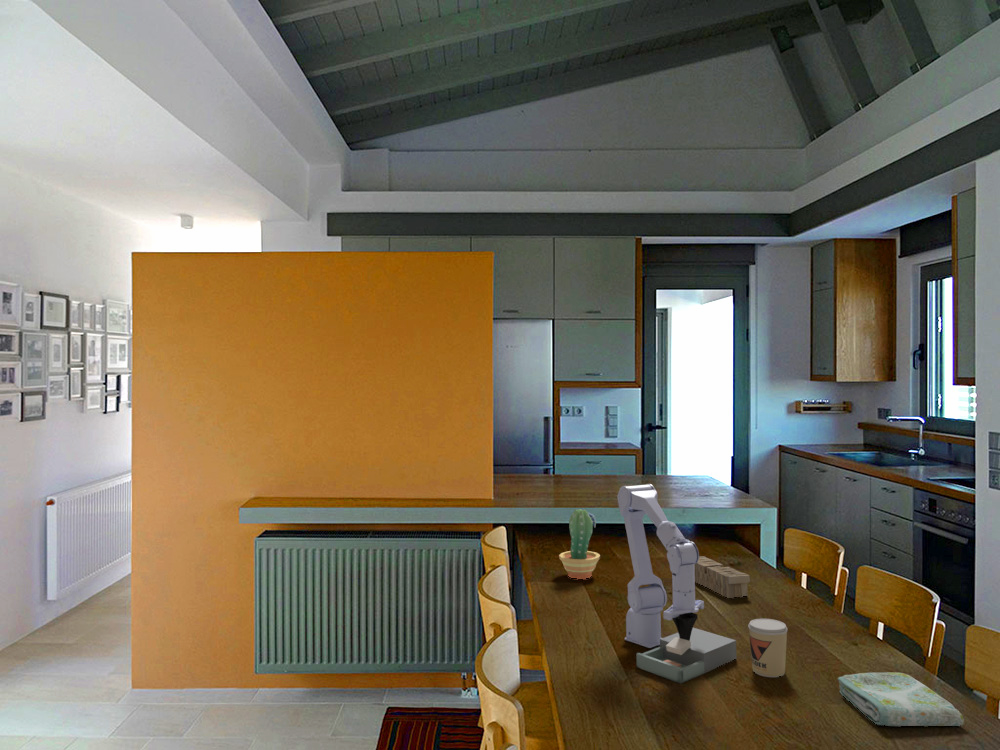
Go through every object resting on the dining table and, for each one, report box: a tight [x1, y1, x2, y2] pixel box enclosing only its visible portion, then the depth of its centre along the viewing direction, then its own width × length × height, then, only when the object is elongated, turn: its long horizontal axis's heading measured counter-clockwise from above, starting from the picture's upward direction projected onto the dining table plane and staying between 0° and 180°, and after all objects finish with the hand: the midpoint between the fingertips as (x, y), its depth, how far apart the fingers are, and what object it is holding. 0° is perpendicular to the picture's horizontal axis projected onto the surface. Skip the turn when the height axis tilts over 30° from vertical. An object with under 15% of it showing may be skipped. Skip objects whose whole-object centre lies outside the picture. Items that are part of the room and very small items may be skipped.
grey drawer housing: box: [659, 627, 737, 674], centre depth 202 cm, size 14×14×5 cm
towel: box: [837, 671, 965, 727], centre depth 170 cm, size 18×21×5 cm
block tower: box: [694, 555, 751, 599], centre depth 267 cm, size 8×8×29 cm
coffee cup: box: [747, 618, 788, 678], centre depth 192 cm, size 9×9×12 cm
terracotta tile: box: [664, 660, 681, 667], centre depth 193 cm, size 4×4×2 cm
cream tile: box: [666, 637, 691, 655], centre depth 196 cm, size 4×4×2 cm
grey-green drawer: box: [635, 646, 705, 684], centre depth 194 cm, size 14×10×4 cm
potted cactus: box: [558, 508, 601, 580], centre depth 285 cm, size 15×15×25 cm
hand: (684, 641), depth 198 cm, fingers closed
